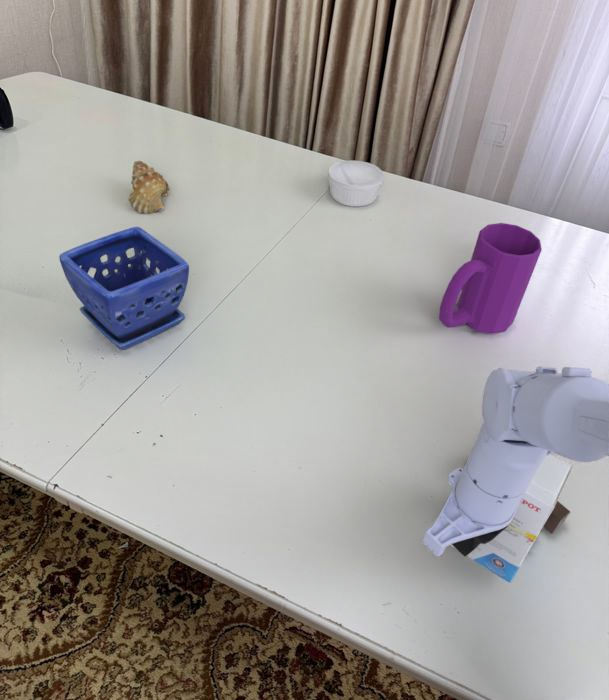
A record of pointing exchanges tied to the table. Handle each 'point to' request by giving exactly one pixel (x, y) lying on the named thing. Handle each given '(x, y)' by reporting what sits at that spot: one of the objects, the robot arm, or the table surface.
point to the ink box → (524, 521)
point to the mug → (492, 280)
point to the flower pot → (128, 285)
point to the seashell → (147, 189)
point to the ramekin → (355, 182)
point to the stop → (556, 518)
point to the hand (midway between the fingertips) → (461, 546)
